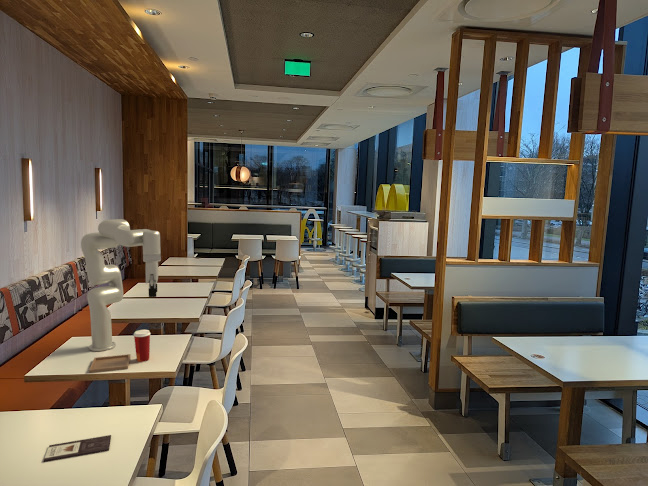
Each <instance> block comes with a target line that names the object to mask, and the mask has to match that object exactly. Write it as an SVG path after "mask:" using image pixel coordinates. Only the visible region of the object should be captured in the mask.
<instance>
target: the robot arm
mask: <svg viewBox="0 0 648 486" xmlns="http://www.w3.org/2000/svg"><path fill="white" fill-rule="evenodd" d="M97 231H98V232H92V233H91V232H90V233H86V234H84V235H83V236H82V238H81V240H80V249H81V251H82V254H83V257H84V260H85V268H86V273H87V281H88V282H89V284H90V285H92V286H99V285H106V284H108V285H107V286H99V287H96V288H95V287H94V288H92V289H90V290H89V291H88V292H87V295H86V299H87V303H88V307H89V315H90V317H89V318H90V330H91V333H90V334H91V344H90V345H89V346H88V349H89V351H90V352H103V351H109V350H111V349H114V348H115V347H116V345H117V344H116V342H114V341H113V333H112V332H113V331H112V328H113V327H112V314H111V311H110V309H108V307H107V306H108V305H113V304H116V303H119V302H121V301H122V300H123V298H124V286H123V280H122V279H123V278H122V272H121V270H120V268H119V267H118V266H117V264H105V258H104V256H103V254H102V252H101V251H99V250H103V249H104V250H105V249H113V248H117V247H118V246H122V247H127V248H131V247H139V246H140V247H141V246H142V260H143V262H144V263H145V284H146V285H148V298H157V293H158V280H159V263H160V262H161V260H162V257H161V250H162V249H161V233H160V231H157V230H151V229H148V228H143V229H131V226H130V224H129V222H128V221H127V220H126V219H123V218H117V219H115V218H114V219H105V220H103V221H101V222H100V223H99V224H98V227H97Z"/></svg>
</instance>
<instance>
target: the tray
mask: <svg viewBox="0 0 648 486" xmlns="http://www.w3.org/2000/svg"><path fill="white" fill-rule="evenodd" d="M131 356H132V355H131V354H120V355H119V354H118V355H117V354H116V355H108V356H99V357H94V359H93V360H92V363H91V365H90V367H89V368H88V372H89V373H88V374H91V373H92V374H93V373H102V372H111V371H112V372H113V371H121V370H128V369H129V366H130V361H131Z"/></svg>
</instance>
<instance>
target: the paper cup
mask: <svg viewBox="0 0 648 486" xmlns="http://www.w3.org/2000/svg"><path fill="white" fill-rule="evenodd" d="M151 334H152V333H151V332H150V330H148V329H140V330H136V331H135V332H134V333H133V337H134V338H133V339H134V347H135V357H136V362H139V363H143V362H144V363H145V362H148V361H150V352H151V351H150V350H151V349H150V348H151V347H150V346H151V345H150V343H151V342H150V341H151Z"/></svg>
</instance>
